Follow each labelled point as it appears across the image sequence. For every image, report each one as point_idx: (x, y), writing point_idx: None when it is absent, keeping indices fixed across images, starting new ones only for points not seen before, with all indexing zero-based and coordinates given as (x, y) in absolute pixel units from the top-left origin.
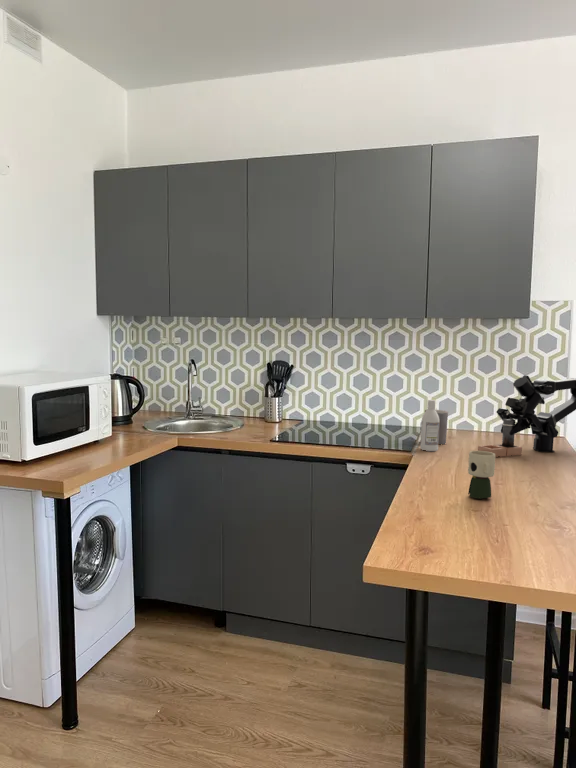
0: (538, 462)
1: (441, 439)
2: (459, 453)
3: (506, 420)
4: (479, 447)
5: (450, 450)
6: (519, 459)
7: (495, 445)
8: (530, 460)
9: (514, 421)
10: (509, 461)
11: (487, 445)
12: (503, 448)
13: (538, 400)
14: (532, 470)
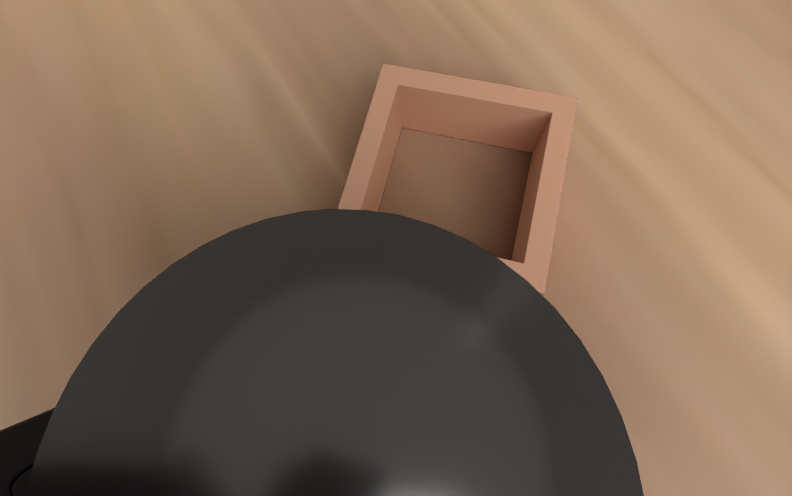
0: (45, 272)
1: None
2: (622, 14)
3: (332, 220)
4: (552, 103)
5: (756, 41)
6: (201, 239)
7: None
8: (120, 287)
9: (74, 475)
10: (222, 103)
11: (542, 198)
12: (342, 204)
13: None
14: (8, 8)
